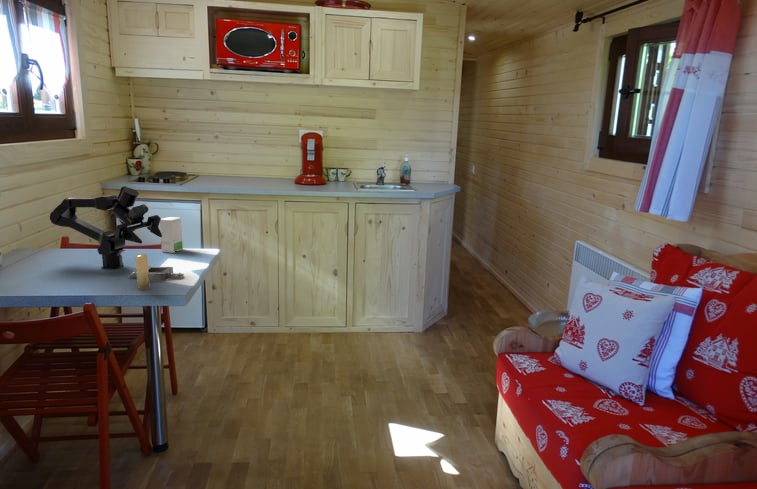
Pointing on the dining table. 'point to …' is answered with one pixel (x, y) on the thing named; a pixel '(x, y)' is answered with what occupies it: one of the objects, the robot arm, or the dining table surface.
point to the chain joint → (160, 274)
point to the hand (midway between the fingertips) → (151, 239)
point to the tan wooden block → (142, 271)
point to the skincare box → (171, 234)
